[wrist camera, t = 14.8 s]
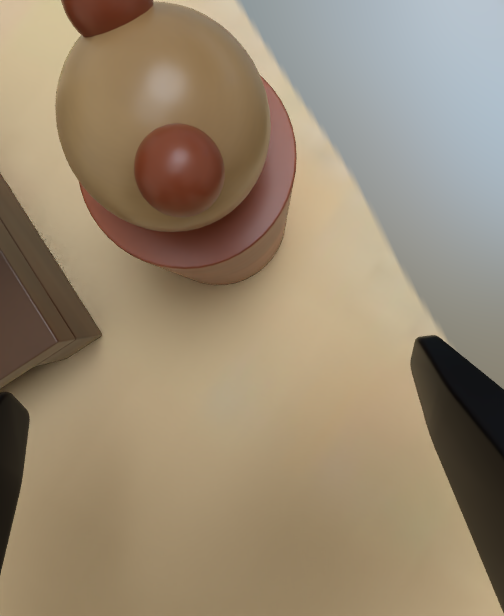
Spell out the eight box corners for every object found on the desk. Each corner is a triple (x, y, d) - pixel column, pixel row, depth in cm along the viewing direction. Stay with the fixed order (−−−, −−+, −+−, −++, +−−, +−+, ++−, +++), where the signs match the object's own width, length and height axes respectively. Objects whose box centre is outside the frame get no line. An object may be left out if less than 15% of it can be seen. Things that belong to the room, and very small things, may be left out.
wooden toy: (183, 305, 16) (31, 299, 6) (133, 183, 17) (-104, -34, 6) (306, 253, 16) (372, 153, 6) (254, 130, 16) (227, -189, 6)
